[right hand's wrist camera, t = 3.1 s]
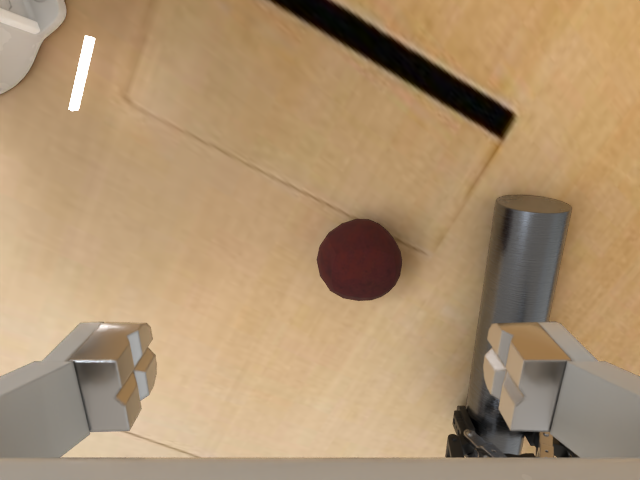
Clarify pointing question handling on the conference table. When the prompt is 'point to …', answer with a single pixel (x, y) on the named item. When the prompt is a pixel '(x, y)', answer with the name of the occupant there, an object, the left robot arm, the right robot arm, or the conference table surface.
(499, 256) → the rod
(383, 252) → the dark red ball
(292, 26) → the conference table surface
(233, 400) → the conference table surface
